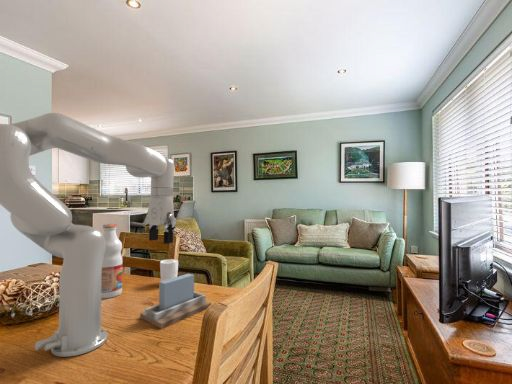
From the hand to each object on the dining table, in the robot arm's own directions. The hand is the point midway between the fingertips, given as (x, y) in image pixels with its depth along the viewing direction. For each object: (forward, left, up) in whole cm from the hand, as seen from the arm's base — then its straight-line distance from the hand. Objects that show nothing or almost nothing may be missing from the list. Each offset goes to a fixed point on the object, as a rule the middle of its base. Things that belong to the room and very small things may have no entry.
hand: (160, 241), depth 95 cm
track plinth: (+2, -7, -24) cm, 25 cm away
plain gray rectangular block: (+2, -7, -22) cm, 23 cm away
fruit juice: (-5, +28, -24) cm, 37 cm away
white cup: (+18, +21, -24) cm, 37 cm away
